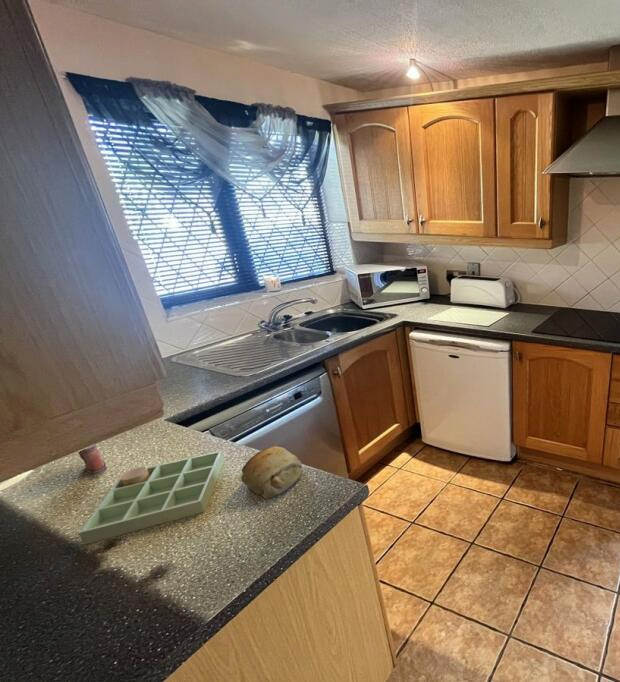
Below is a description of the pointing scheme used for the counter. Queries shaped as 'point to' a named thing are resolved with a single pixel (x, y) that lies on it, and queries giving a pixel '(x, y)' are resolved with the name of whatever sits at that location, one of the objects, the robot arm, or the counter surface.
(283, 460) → the pastry
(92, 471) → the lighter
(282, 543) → the counter surface
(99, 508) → the grid
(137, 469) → the beige short cylinder
